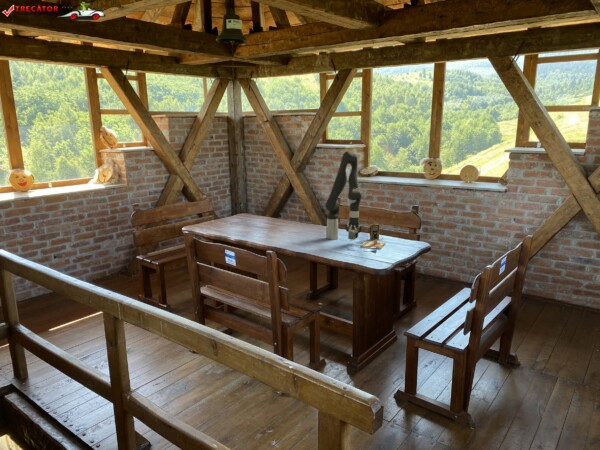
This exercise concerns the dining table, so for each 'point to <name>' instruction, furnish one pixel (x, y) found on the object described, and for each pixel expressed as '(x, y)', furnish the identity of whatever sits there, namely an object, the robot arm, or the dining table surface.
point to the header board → (373, 244)
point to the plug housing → (352, 235)
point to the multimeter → (374, 230)
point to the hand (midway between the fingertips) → (353, 237)
